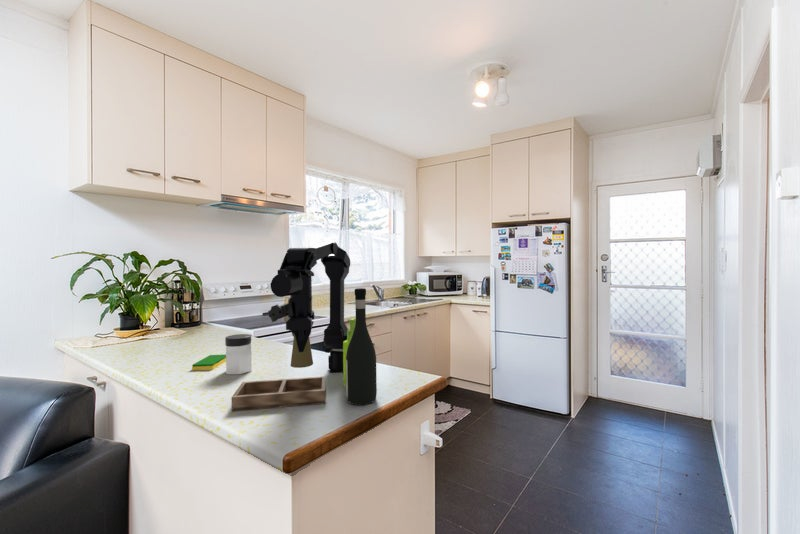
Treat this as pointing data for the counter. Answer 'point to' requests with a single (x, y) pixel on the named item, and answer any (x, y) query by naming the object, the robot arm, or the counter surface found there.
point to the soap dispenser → (347, 344)
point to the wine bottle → (361, 358)
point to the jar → (238, 354)
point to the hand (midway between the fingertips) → (301, 350)
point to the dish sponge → (209, 362)
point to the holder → (279, 393)
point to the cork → (301, 355)
